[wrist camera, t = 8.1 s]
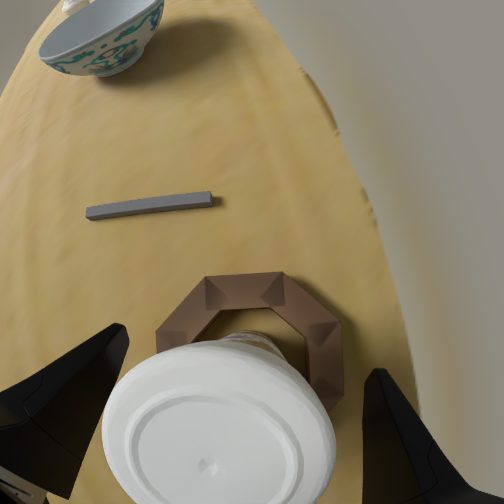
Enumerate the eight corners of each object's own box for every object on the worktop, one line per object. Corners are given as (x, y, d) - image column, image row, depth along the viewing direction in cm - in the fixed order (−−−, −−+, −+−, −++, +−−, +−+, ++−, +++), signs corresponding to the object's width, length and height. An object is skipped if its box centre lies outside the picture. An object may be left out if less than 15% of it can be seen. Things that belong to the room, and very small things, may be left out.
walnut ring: (338, 432, 15) (343, 440, 14) (173, 439, 15) (167, 447, 14) (330, 271, 18) (335, 267, 16) (162, 282, 18) (154, 278, 17)
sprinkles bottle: (265, 319, 17) (282, 301, 4) (294, 383, 16) (371, 503, 3) (198, 346, 17) (59, 383, 4) (227, 409, 16) (163, 553, 3)
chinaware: (51, 118, 23) (17, 79, 16) (87, 47, 27) (68, 11, 19) (168, 83, 23) (147, 22, 15) (184, 18, 27) (173, -26, 19)
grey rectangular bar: (212, 196, 20) (210, 191, 19) (212, 206, 19) (210, 201, 19) (91, 211, 20) (86, 207, 19) (90, 220, 20) (85, 216, 19)
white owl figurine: (96, 3, 33) (86, -19, 26) (91, 12, 31) (80, -12, 24) (71, 16, 33) (60, -5, 26) (65, 26, 31) (52, 4, 24)
